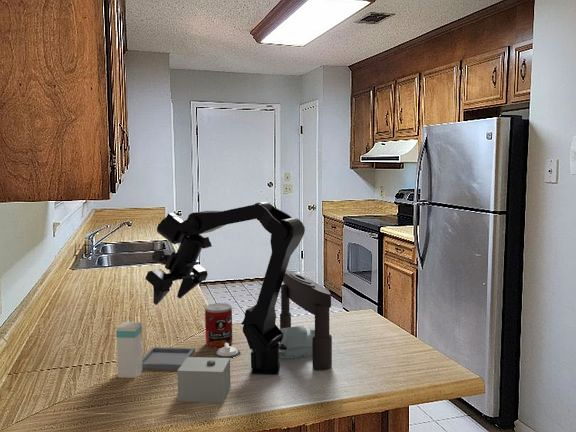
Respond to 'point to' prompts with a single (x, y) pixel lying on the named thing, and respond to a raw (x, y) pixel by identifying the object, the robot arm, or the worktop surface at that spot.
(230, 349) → the stove knob
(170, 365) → the tray
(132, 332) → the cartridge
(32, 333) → the worktop surface
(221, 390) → the unit
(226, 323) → the canned food
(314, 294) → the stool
